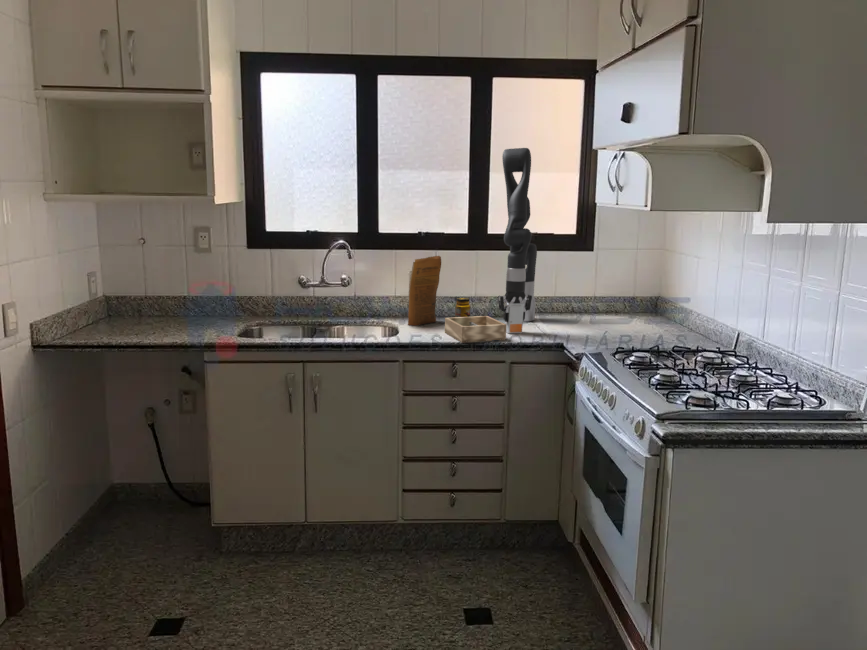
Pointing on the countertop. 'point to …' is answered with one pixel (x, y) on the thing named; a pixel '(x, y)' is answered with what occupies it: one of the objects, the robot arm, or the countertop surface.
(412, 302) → the pancake mix bag
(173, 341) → the countertop surface
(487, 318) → the box
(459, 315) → the condiment
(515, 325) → the skincare box
